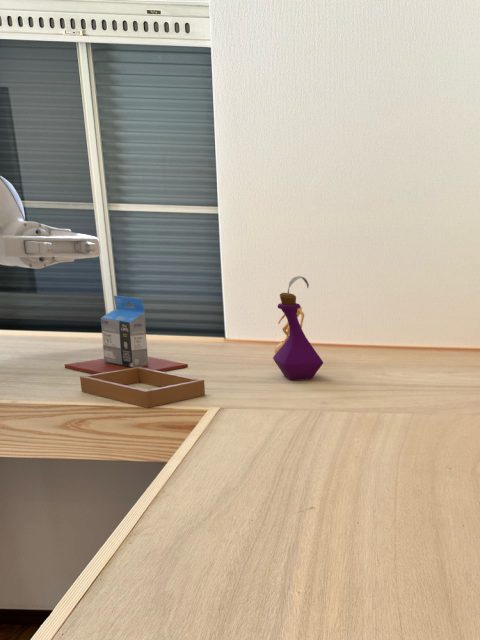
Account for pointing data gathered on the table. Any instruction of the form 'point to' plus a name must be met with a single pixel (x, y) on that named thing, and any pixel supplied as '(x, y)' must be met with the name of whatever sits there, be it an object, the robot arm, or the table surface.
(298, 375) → the perfume bottle
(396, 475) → the table surface
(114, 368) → the rubber mat
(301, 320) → the figurine
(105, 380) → the frame
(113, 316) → the label tape box
